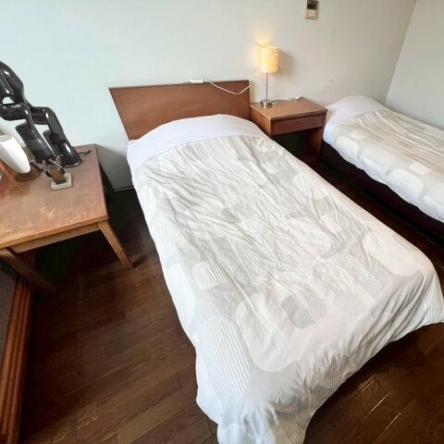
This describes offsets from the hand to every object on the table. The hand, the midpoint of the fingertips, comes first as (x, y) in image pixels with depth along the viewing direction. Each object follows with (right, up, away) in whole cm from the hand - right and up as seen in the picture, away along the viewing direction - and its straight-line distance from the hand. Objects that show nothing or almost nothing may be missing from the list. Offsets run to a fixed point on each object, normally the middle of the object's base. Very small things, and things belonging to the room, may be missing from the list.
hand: (57, 175), depth 133 cm
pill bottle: (-18, +8, +15) cm, 24 cm away
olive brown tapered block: (-29, +11, +16) cm, 36 cm away
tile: (-1, -3, +4) cm, 5 cm away
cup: (-22, +1, +6) cm, 23 cm away
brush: (0, -2, +2) cm, 3 cm away
